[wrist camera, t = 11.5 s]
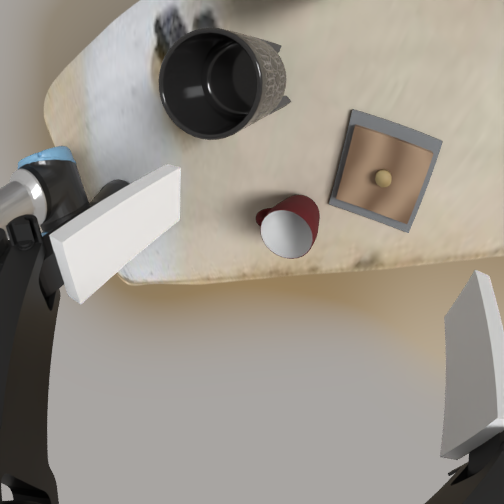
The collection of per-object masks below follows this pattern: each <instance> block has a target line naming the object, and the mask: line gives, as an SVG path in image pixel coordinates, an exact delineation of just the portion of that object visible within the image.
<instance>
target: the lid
mask: <svg viewBox="0 0 504 504" xmlns="http://www.w3.org/2000/svg"><path fill="white" fill-rule="evenodd" d="M432 157H433V152H432V151H430V150H427V149H425V148H422V147H420V146H417V145H415V144H412V143H409V142H407V141H404V140H401V139H398V138H396V137H393V136H390V135H387V134H384V133H381V132H378V131H375V130H372V129H369V128H366V127H363V126H360V125H355V127H354V131H353V136H352V140H351V144H350V148H349V152H348V155H347V159H346V163H345V167H344V171H343V175H342V178H341V182H340V186H339V189H338V193H337V196H336V199H338V200H341V201H344V202H347V203H350V204H353V205H356V206H359V207H361V208H364V209H367V210H370V211H373V212H375V213H378V214H381V215H383V216H386V217H389V218H392V219H394V220H397V221H399V222H402V223H405V224H408V221H409V219H410V216H411V214H412V211H413V209H414V206H415V204H416V201H417V199H418V196H419V193H420V191H421V188H422V185H423V183H424V180H425V177H426V174H427V172H428V169H429V166H430V163H431V160H432Z"/></svg>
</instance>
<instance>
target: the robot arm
mask: <svg viewBox="0 0 504 504" xmlns="http://www.w3.org/2000/svg"><path fill="white" fill-rule="evenodd" d="M180 175H181V167H177V166H174V165H170V164H166V165H164V166H162V167H160V168H158V169H156V170H154V171H153V172H151V173H149V174H147V175H145V176H143V177H142V178H140V179H138V180H136V181H135V182H133V183H131V184H129V183H127V182H125V181H123V180H114V181H111V182H110V183H108V184H106V185H105V186H104V187H103V188H102V189H101V190H100V192H99V193H98V194H97V195H96V196H95V198H94V199H93V200H92V201H91V202H90V203H89V202H88V199H87V196H86V193H85V191H84V188H83V185H82V182H81V179H80V176H79V172H78V169H77V166H76V162H75V160H74V159H73V156H72V153H71V151H70V149H69V148H68V147H66V146H58V147H54V148H50V149H47V150H44V151H41V152H39V153H35V154H32V155H30V156H28V157H26V158H24V159H22V160H20V161H19V162H18V170H16V171H15V172H14V173H13V174H12V176H11V179H10V182H9V183H8V184H7V185H5V186H3V187H1V188H0V504H59V502H58V493H57V485H56V481H55V478H54V475H53V473H52V471H51V469H50V467H49V464H48V455H47V409H48V389H49V375H50V364H51V354H52V346H53V339H54V331H55V325H56V318H57V312H58V307H59V301H60V290H59V288H60V287H61V286H62V285H65V288H66V291H67V294H68V296H69V297H71V298H72V299H74V300H75V301H77V302H78V303H80V304H82V303H83V302H84V301H85V300H86V299H87V298H89V297H90V296H91V295H92V294H93V293H94V292H95V291H96V290H97V289H98V288H100V287H101V286H102V285H103V284H104V283H105V282H106V281H107V280H109V279H110V278H111V277H112V276H113V275H114V274H116V273H117V272H118V271H119V270H120V269H121V268H122V267H124V266H125V265H126V264H127V263H128V262H129V261H131V260H132V259H133V258H134V257H135V256H137V255H138V254H139V253H140V252H141V251H142V250H144V249H145V248H146V247H147V246H148V245H150V244H151V243H152V242H153V241H154V240H156V239H157V238H158V237H159V236H161V235H162V234H163V233H164V232H165V231H167V230H168V229H169V228H170V227H172V226H173V225H174V224H175V223H177V222H178V221H179V220H180ZM39 225H40V226H41V228H42V230H43V232H42V233H41V231H40V227H39ZM8 238H10V240H8ZM444 320H445V340H446V390H445V411H444V425H443V435H442V444H441V452H440V457H444V458H449V459H455V460H458V459H460V458H462V457H463V456H465V455H467V454H468V453H469V462H467V463H465V464H464V465H462V466H460V467H458V468H456V469H454V470H452V471H451V472H450V473H448V475H449V476H450V475H452V474H454V473H455V474H454V475H453V476H452V477H451V478H450V480H449V481H448V482H447V483H446V484H445V485H444V486H443V487H442V488H441V489H440V490H439V491H438V492H437V493H436V494H435V495H434V496H433V497H432V498H430V499H429V500H428V501H427V502H426V503H425V504H504V331H503V327H502V322H501V318H500V314H499V310H498V306H497V302H496V298H495V294H494V291H493V287H492V284H491V280H490V277H489V275H486V274H484V273H482V272H480V271H477V270H475V271H474V272H473V274H472V276H471V277H470V279H469V281H468V282H467V284H466V285H465V287H464V289H463V290H462V292H461V293H460V295H459V296H458V298H457V299H456V301H455V302H454V304H453V305H452V307H451V308H450V310H449V311H448V313H447V314H446V316H445V318H444ZM1 483H3V484H5V485H7V486H8V487H9V488H10V489H11V491H12V494H13V498H14V500H13V501H2V495H1Z"/></svg>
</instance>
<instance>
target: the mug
mask: <svg viewBox="0 0 504 504" xmlns="http://www.w3.org/2000/svg"><path fill="white" fill-rule="evenodd" d="M319 218H320V215H319V209H318V207H317V205H316V204H315V202H314V201H313V200H312V199H310V198H309V197H307V196H303V195H294V196H291V197H289V198H287V199H285V200H284V201H282V202H280V203H279V204H277V205H276V206H274V207H273V208H267V209H263V210H261V211H260V212H258V214H257V215H256V222H257V224H258V225H259V226H261V227H260V232H261V237H262V240H263V242H264V243H265V245H266V246H267V247H268V248H269V249H270V250H271V251H272V252H273V253H275V254H276V255H278V256H281V257H284V258H289V259H294V258H299V257H302V256H304V255H305V254H306V253H308V251H309V250H310V249H311V247H312V245H313V243H314V241H315V239H316V237H317V233H318V226H319Z"/></svg>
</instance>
